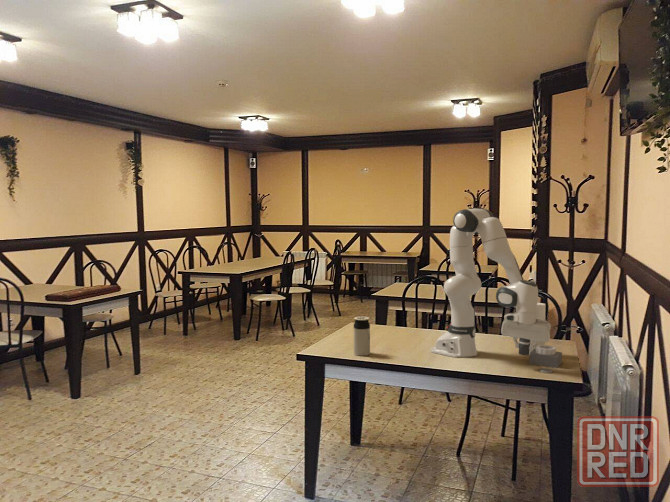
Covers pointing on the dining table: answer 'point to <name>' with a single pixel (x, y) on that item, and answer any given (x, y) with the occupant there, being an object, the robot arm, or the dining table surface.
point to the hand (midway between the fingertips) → (524, 348)
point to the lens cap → (545, 370)
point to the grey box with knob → (546, 356)
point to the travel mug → (361, 336)
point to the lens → (524, 346)
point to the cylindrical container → (540, 316)
